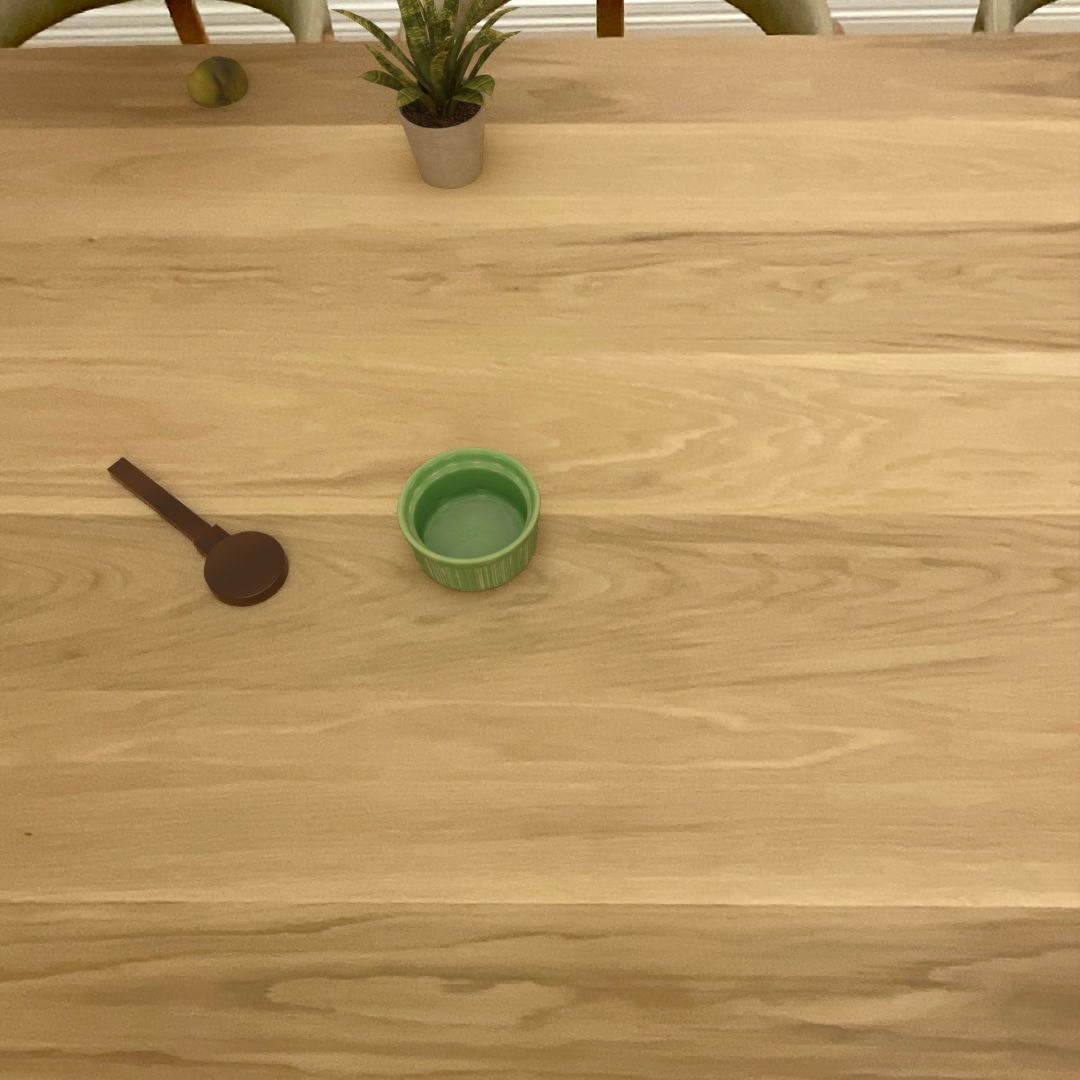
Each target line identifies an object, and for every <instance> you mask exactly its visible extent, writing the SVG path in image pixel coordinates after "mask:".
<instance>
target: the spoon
mask: <svg viewBox="0 0 1080 1080" xmlns="http://www.w3.org/2000/svg"><path fill="white" fill-rule="evenodd" d="M106 471H107V472H108V474H109V475H110V477H112V478H113V479H114V480H115V481H117V482H118V483H119V484H120V485H122V486H123V487H124V488H125V489H127V490H128V491H129V492H130V493H131V494H133V495H134V496H135V497H136V498H138V499H139V500H140V501H142V502H143V503H144V504H145V505H147V506H148V507H149V508H150V509H152V511H154V512H155V513H157V514H158V515H159V516H160V517H162V518H163V519H164V520H165V521H167V522H168V523H169V524H170V525H172V526H173V527H174V528H176V529H177V531H179V532H180V533H182V534H183V535H184V536H185V537H186V538H187V539H189V540H190V541H192V542H193V543H192V544H193V546H194V548H195V549H196V551H197V552H198V553H200V554H201V555H202V556H203V557H205V558H206V559H205V561H204V564H203V577H204V581H205V583H206V585H207V586H208V588H209V590H210V592H211V593H212V595H213V596H214V597H215V598H216V599H217V600H219V601H220V602H222V603H224V604H226V605H230V606H234V607H249V606H253V605H257V604H261V603H262V602H265V601H266V600H268V599H270V598H271V597H272V596H274V595H275V594H276V593H278V591H279V590H280V589H281V588H282V586H283V585H284V583H285V581H286V579H287V576H288V572H289V560H288V558H287V555H286V552H285V551H284V548H283V546H282V545H281V543H280V542H279V541H278V540H277V538H274V537H273V536H272V535H270V534H268V533H265V532H263V531H255V530H249V531H247V530H246V531H240V532H236V533H234V534H230V533H229V532H227V531H226V530H225V529H223V528H222V526H220V525H218V524H217V523H215V524H214V525H213V526H212V525H211V524H210V523H208V522H207V521H205V520H204V518H202V517H200V516H199V515H198V514H196V512H194V511H193V510H192V509H190V508H189V507H188V506H187V505H185V504H184V503H183V502H182V501H180V500H179V499H178V498H176V497H175V496H174V495H173V494H171V492H169V491H168V490H166V489H165V488H164V487H162V486H161V485H160V484H159V483H157V482H156V481H155V480H153V479H152V478H151V477H150V476H148V475H147V474H146V473H145V472H143V471H142V470H141V469H139V468H138V467H137V466H135V465H134V464H133V463H132V462H131V461H129V460H128V459H126V458H125V457H124V456H121V457H120V458H119V459H118V460H117V461H115V462H114V463H112V464H111V465H110V466H109V467H108V468H107V469H106Z"/></svg>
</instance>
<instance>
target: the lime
mask: <svg viewBox="0 0 1080 1080" xmlns="http://www.w3.org/2000/svg"><path fill="white" fill-rule="evenodd" d="M247 89H248V78H247V72H246V71H245V69H244V68H243V66H242V65H241V63H240V62H238V61H237V60H236V59H234V58H231V57H227V56H222V55H217V56H211V57H208V58H207V59H205V60H202V61H200V62H199V63H198V64H197V65H196V67H195V68H194V69H193V71H192V72H191V73H190V75H189V77H188V79H187V91H188V94H189V96H190V98H191V99H192V100H193V101H194V102H195V103H197V104H198V105H200V106H202V107H204V108H208V109H209V108H212V109H213V108H214V109H215V108H220V107H226V106H229V105H232V104H234V103H236V102H239V101H240V100H241V99H243V98H244V97H245V96H246V94H247Z"/></svg>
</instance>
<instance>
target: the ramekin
mask: <svg viewBox="0 0 1080 1080" xmlns="http://www.w3.org/2000/svg"><path fill="white" fill-rule="evenodd" d="M541 500H542V499H541V492H540V489H539V485H538V483H537V480H536V479H535V477H534V475H533V474H532V473H531V471H530V470H529V469H528V467H527V466H525V465H524V464H523V463H522V462H521V461H519V459H517V458H515V457H513V456H511V455H510V454H508V453H506V452H503V451H500V450H496V449H493V448H485V447H479V446H478V447H477V446H476V447H473V446H472V447H462V448H460V447H459V448H456V449H455V448H454V449H451V450H447V451H445V452H441V453H439V454H437V455H434V456H433V457H431V458H429V459H428V460H426V461H425V462H423V463H422V464H421V465H419V466H418V468H416V469H415V470H414V471H413V472H412V473H411V475H409V477H408V478H407V480H406V481H405V483H404V484H403V486H402V488H401V491H400V493H399V496H398V499H397V506H396V514H397V515H396V516H397V523H398V525H399V528H400V531H401V533H402V535H403V537H404V538H405V540H406V541H407V543H408V544H409V545H410V547H411V549H412V551H413V554H414V556H415V559H416V561H417V563H418V564H419V566H420V567H421V569H422V570H423V571H424V572H425V574H426V575H427V576H429V577H430V578H431V579H432V580H433V581H435V582H436V583H438V584H440V585H442V586H445V587H447V588H449V589H453V590H455V591H463V592H480V591H481V592H482V591H486V590H490V589H493V588H497V587H499V586H501V585H504V584H505V583H507V582H509V581H511V580H512V579H514V578H515V577H516V576H518V575H519V574H520V573H521V572H523V570H524V569H525V568H526V567H527V566H528V564H529V563H530V561H531V559H532V557H533V556H534V553H535V549H536V546H537V541H538V522H539V518H540V514H541V505H542V504H541V503H542V501H541Z"/></svg>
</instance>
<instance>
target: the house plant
mask: <svg viewBox="0 0 1080 1080" xmlns="http://www.w3.org/2000/svg"><path fill="white" fill-rule="evenodd" d="M489 1H490V0H474V1H473V2H472V4H471V5H470V7H469V9H468V10H467V12H466V13H465V16H464V20H463V23H462V25H461V27H460V30H459V32H458V34H457V36H456V25H457V18H458V13H459V12H458V11H459V6H460V0H444V1H443V4H442V6H441V7H440V9H439V11H438V12H437V7H436V4H435V3H436V2H435V0H422V1H421V0H396V2H397V6H398V9H399V12H400V16H401V20H402V21H401V22H402V24H403V28H404V33H405V34H404V35H405V41H406V45H407V48H408V52H409V56H410V57H411V59H412V61H411V60H410V59H409V58H408V56H407V55H405V54H404V52H403V51H402V49H401V48H400V47H399V46H398V45H397V43H396V42H395V41H394V40H393V39H392V38H391V37H390V36H389V35H388V34H387V33H386V32H385V31H384V30H383V29H381V28H380V26H378V25H376V24H375V22H373V21H371V20H370V19H368V18H366V17H364V16H361V15H358V14H356V13H354V12H351V11H349V10H347V9H342V8H331V11H334V12H335V13H338V14H341V15H343V16H345V17H347V18H349V19H350V20H352V21H354V22H356V23H357V24H359V25H360V26H361V27H362V28H363V29H365V30H366V31H368V32H369V33H370V34H371V35H373V36H374V37H375V39H377V40H378V41H379V42H380V43H381V44H382V45H376V48H378V49H380V50H382V51H384V52H388V53H390V54H391V55H392V56H393V57H394V58H396V59H397V60H398V61H399V63H401V64H402V65H403V66H404V67H405V69H406V70H407V71H408V72H409V73H410V74H411V75H412V76H413V77H414V78H415V79H416V80H415V81H414V80H413V79H412V78H410V77H409V76H408V75H407V74H406V73H405V72H404V71H403V70H402V69H400V68H399V67H398V66H397V65H395V64H394V63H393V62H392V61H391V60H390V59H388V57H386V56H385V55H384V54H382V53H381V52H380V51H379V50H378V49H376V48H375V47H373V46H371V45H368V44H367V43H363V45H364V46H365V48H366V50H368V51H369V52H370V53H371V54H372V55H373V57H374V58H375V60H376V61H377V63H378V64H379V66H381V68H382V69H384V70H385V71H384V70H379V69H377V70H376V69H375V70H374V69H373V70H370V71H366V72H364V73H362V74H360V75H359V76H357V79H360V78H361V79H363V80H365V81H367V82H370V83H373V84H377V85H380V86H383V87H386V88H388V89H391V90H394V91H396V92H398V93H397V96H396V102H395V107H394V109H393V110H394V111H393V112H396V113H397V115H398V118H399V120H400V123H401V125H402V129H403V131H404V133H405V136H406V139H407V140H408V144H409V147H410V149H411V153H412V154H413V157H414V160H415V162H416V165H417V168H418V170H419V172H420V175H421V178H422V179H423V180H424V181H425V183H427V184H428V185H430V186H432V187H436V188H441V189H458V188H462V187H465V186H468V185H470V184H471V183H473V182H474V181H476V179H478V178H479V176H480V175H481V173H482V170H483V161H484V148H485V147H484V145H485V127H486V112H487V95H488V96H489V97H490V99H491V100H493V94H494V90H495V86H496V81H495V79H494V77H493V76H492V75H491V74H487V73H484V74H479V75H478V72H479V71H480V69H481V68H482V66H483V65H484V64H485V63H486V61H487V60H488V59H489V57H490V56H491V55H492V53H494V52H495V51H496V50H497V48H499V47H500V46H501V45H502V44H503V43H506V40H508V39H509V40H511V37H514V36H516V35H518V34H520V33H521V32H522V30H516V31H509V32H507V33H503V32H501V31H499V30H497V29H493V28H492V27H493V25H495V24H496V23H497V22H498V21H499V20H500V19H501V18H502V17H503V16H505V15H506V14H508V13H511V12H513V11H516V10H518V9H520V8H521V6H513V7H507V8H504V9H501V10H499V11H497V12H495V13H493V15H492V16H490V18H488V19H487V21H486V22H485V23H484V24H483V25H482V27H481V28H480V30H479V31H477V33H475V34H474V36H473V37H472V39H471V40H470V41H469V42H468V43H467V45H465V47H464V48H463V46H464V43H465V41H466V38H467V35H468V33H469V31H470V29H471V27H472V25H473V23H474V21H475V20H476V18H477V16H478V14H480V12H481V10H482V9H483V8H484V6H485V5H486V4H487V3H488V2H489ZM422 2H423V3H422ZM455 36H456V37H455ZM455 38H456V39H455ZM485 46H487V47H485ZM483 47H485V49H484V50H483V51H482V52H481V54H480V55H479V57H478V59H477V61H476V62H475V64H474V66H473V67H472V69H471V71H470V72H469V74H468V76H467V77H465V74H466V72H467V70H468V68H469V66H470V63H471V62H472V59H473V57H474V55H475V54H476V53H477V52H478V51H479V50H480V49H481V48H483ZM462 48H463V49H462Z"/></svg>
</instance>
